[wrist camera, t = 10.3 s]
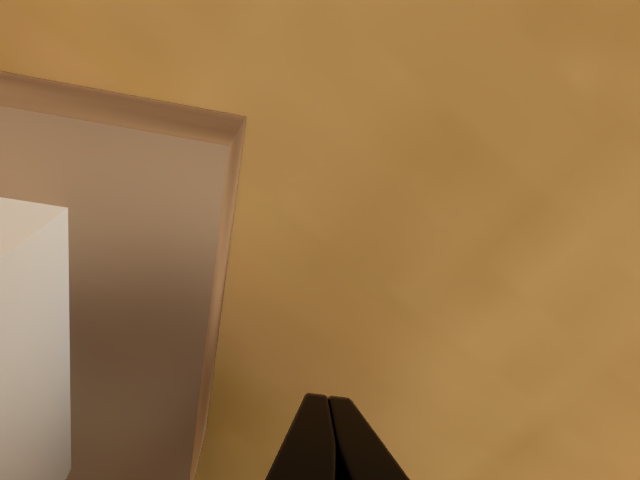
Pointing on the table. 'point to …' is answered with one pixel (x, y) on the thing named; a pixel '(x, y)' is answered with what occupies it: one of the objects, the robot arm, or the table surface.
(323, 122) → the table surface
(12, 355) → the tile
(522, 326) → the table surface
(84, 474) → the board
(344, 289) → the table surface
